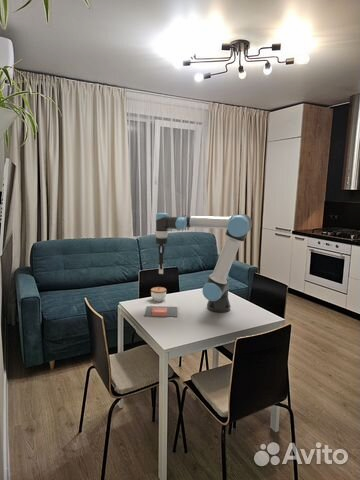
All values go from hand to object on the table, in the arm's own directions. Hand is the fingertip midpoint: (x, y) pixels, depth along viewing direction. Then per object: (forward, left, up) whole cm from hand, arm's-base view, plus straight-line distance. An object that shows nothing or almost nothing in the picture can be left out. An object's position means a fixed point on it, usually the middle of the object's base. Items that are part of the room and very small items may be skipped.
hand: (161, 273), depth 209 cm
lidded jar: (+2, -13, -23) cm, 26 cm away
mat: (-1, +9, -22) cm, 24 cm away
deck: (0, +9, -21) cm, 23 cm away
